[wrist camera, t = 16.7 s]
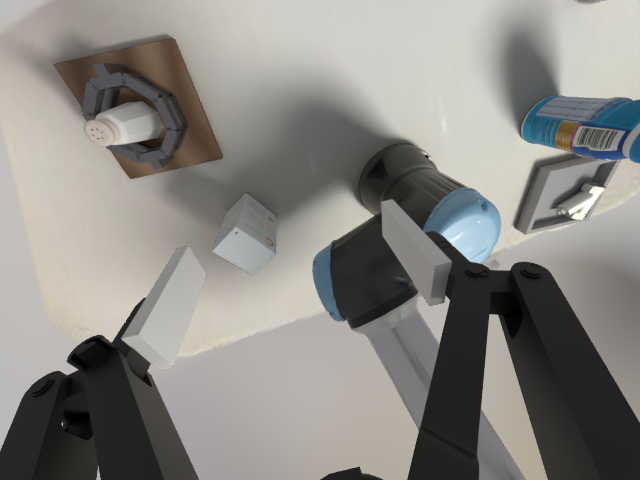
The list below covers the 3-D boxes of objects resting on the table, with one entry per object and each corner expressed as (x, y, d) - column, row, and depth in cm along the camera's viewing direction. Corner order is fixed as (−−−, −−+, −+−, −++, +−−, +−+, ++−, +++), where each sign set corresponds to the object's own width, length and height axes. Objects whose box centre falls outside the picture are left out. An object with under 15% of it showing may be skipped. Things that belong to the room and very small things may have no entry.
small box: (225, 212, 47) (209, 251, 36) (245, 191, 45) (235, 225, 34) (258, 235, 51) (252, 276, 40) (277, 216, 49) (277, 254, 38)
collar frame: (158, 57, 32) (140, 54, 28) (201, 152, 39) (192, 160, 35) (83, 74, 32) (54, 73, 28) (140, 166, 39) (124, 176, 35)
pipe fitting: (547, 212, 58) (572, 212, 59) (561, 220, 55) (588, 220, 55) (566, 181, 54) (593, 181, 54) (583, 187, 51) (612, 187, 51)
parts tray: (607, 151, 51) (624, 154, 49) (575, 214, 60) (588, 220, 58) (537, 167, 51) (550, 171, 49) (515, 228, 60) (525, 234, 58)
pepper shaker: (121, 94, 34) (62, 98, 25) (163, 107, 35) (123, 116, 26) (124, 133, 36) (72, 150, 27) (163, 144, 38) (127, 163, 29)
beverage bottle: (547, 84, 42) (719, 86, 26) (571, 108, 45) (739, 123, 28) (509, 131, 46) (637, 159, 29) (534, 150, 49) (663, 184, 32)
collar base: (174, 39, 32) (172, 38, 31) (223, 157, 41) (222, 158, 40) (59, 64, 32) (53, 64, 31) (133, 177, 41) (130, 179, 40)
